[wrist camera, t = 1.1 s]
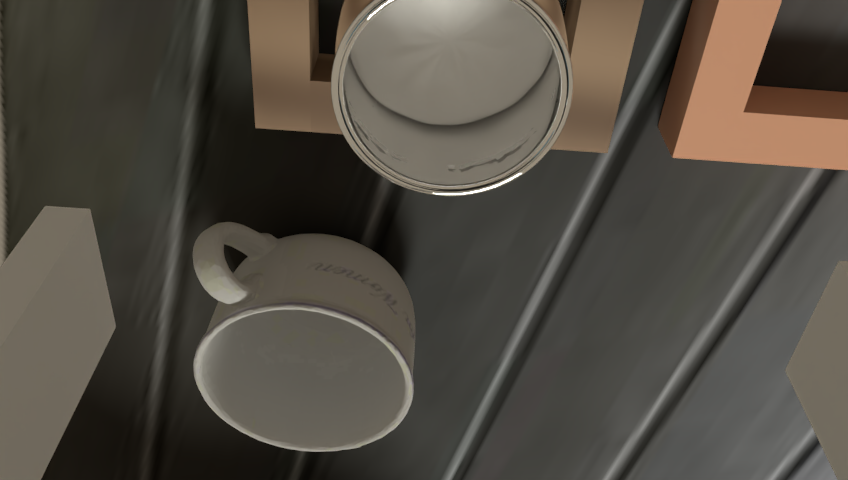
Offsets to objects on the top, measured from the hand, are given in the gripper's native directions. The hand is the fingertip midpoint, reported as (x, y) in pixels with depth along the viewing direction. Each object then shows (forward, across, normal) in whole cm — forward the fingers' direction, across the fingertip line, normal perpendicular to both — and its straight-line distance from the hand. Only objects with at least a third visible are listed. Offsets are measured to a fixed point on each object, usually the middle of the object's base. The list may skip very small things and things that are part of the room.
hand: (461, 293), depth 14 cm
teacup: (+24, +6, +18) cm, 30 cm away
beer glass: (+24, 0, 0) cm, 24 cm away
